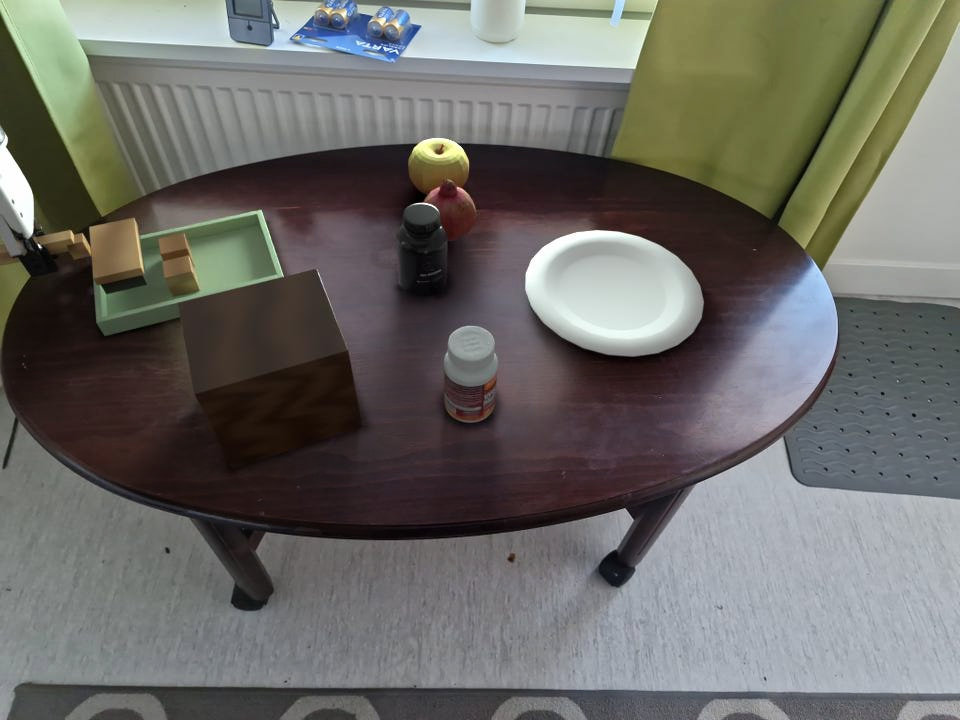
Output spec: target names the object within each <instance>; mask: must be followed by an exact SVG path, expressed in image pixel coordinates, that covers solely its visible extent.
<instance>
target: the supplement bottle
mask: <svg viewBox="0 0 960 720" xmlns="http://www.w3.org/2000/svg"><path fill="white" fill-rule="evenodd" d="M395 241H396V242H395V243H396V257H397V259H396V260H397V271H398V272H397V275H398V283H399V286H400V288H401V289H402V290H403V291H404V292H405V293H407V294H408V295H410V296H412V297H418V298H429V297H433V296H435V295H438V294H439V293H441V292H442V291H443V290H444V288H445V287H446V284H447V280H448V242H449V241H448V240H447V233H446V231H445V229H444V228H443V226H442V225H441V222H440V213H439V211H438V209H436V207H434V206H432V205H429V204H425V203H423V202H418V203H413V204H410V205H409V206H407V207H406V208H405V209H404V210H403V213H402V225H400V227H399V228H398V230H397V233H396V240H395Z"/></svg>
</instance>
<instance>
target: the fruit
mask: <svg viewBox="0 0 960 720" xmlns="http://www.w3.org/2000/svg"><path fill="white" fill-rule="evenodd" d="M422 203H425V204H429V205H432V206H434V207H436V209H438V211H439V213H440V222H441V225H442V226H443V228H444V229H445V231H446V233H447V240H448V242H452V241H455V240H458V239H461V238H463V237H464V236H467V235H468V234H469V233H470V231H471V230H472V229H473V227H474V226H475V225H476V222H477V210H476V206H475V205H476V204H475V203H474V200H473V199H472V198H471V196H470V194H469V193H468V192H466V190H464V189H463V188H459V187H457V186H456V184H455V183H454V182H453V181H451V180H444V181H442V184H441V186H440V187H439V188H437V189H435V190H433V191H431V192H430V193H429V195H426V197H425V198H424V200H423V202H422Z"/></svg>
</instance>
